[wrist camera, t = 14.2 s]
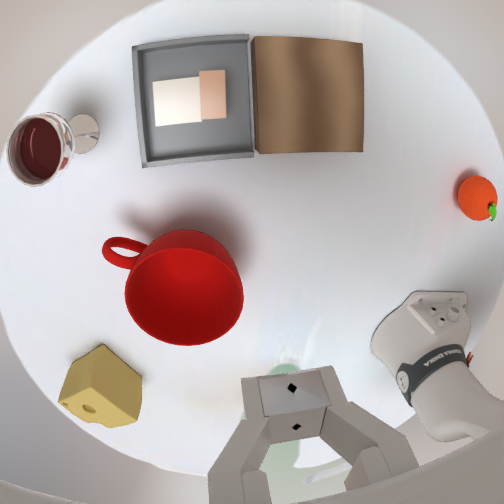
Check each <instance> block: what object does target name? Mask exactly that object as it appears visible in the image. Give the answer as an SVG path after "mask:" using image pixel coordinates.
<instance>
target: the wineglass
mask: <svg viewBox="0 0 504 504" xmlns="http://www.w3.org/2000/svg"><path fill="white" fill-rule="evenodd" d="M98 138H99V127H98V124H97V122H96V121H95V120H94V118H92V117H91V116H89V115H85V114H81V115H77V116H75V117H73V118H72V119H71V120H70V121H69V122H67V121H66V120H65V119H64V118H62V117H61V116H59V115H58V114H55V113H49V112H45V113H40V114H36V115H32V116H27V117H25V118H24V119H22V120H21V121H19V122H18V123H17V124H16V126H15V127H14V128H13V129H12V131H11V134H10V136H9V138H8V143H7V150H6V152H7V161H8V164H9V167H10V170H11V172H12V173H13V175H14V176H15V177H16V179H17V180H19V181H20V182H22V183H23V184H24V185H28V186H31V187H36V186H42V185H44V184H46V183H48V182H50V181H52V180H53V179H55V178H57V177H59V176H60V175H61V174H62V173H63V172H64V171H65V170H66V169H67V168H68V167H69V165H70V163H71V161H72V159H73V156H74V152H75V153H79V154H81V153H86V152H88V151H90V150H91V149H93V148H94V147H95V145H96V143H97V142H98Z"/></svg>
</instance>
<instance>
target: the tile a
mask: <svg viewBox="0 0 504 504" xmlns="http://www.w3.org/2000/svg"><path fill="white" fill-rule="evenodd" d="M153 97H154V111H155V124H156V126H164V125H173V124H182V123H192V122H202V121H203V120H201V109H200V84H199V77H190V78H181V79H172V80H164V81H156V82H153Z"/></svg>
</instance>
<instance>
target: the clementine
mask: <svg viewBox="0 0 504 504" xmlns="http://www.w3.org/2000/svg"><path fill="white" fill-rule="evenodd" d="M458 203H459V206H460V208H461V210H462V212H463V213H464V214H465V215H466V216H467V217H469V218H470V219H473V220H477V221H481V220H485V219H487V218H489V217H490V216H491V217H492V219H491V221H493V220H494V219H495V217H496V206H497V193H496V190H495V188H494V186H493V185H492V183H491V182H490V181H489V180H487V179H486V178H484V177H481V176H471V177H469V178H467V179H466V180H464V181H463V182H462V184H461V185H460V187H459V190H458Z"/></svg>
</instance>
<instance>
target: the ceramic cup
mask: <svg viewBox="0 0 504 504" xmlns="http://www.w3.org/2000/svg"><path fill="white" fill-rule="evenodd" d="M111 247H120V248H125V249H129V250H132V251H135V252H138V253H140V254H139V255H137V256H135V257H126V256H122V255H119V254H117V253H116V252H114V251H113V250H112V249H111ZM102 254H103V256H104V258H105V259H106V260H107V261H109V262H110V263H112V264H113V265H116V266H118V267H121V268H125V269H129V270H131V271H130V273H129V276H128V279H127V281H126V286H125V302H126V305H127V308H128V311H129V313H130V315H131V317H132V318H133V320H134V321H135V322H136V323H137V325H138V326H139V327H140V328H141V329H142V330H144V331H145V332H146V333H147V334H149V335H150V336H152V337H154V338H156V339H158V340H160V341H163V342H166V343H169V344H174V345H182V346H192V345H201V344H204V343H208V342H211V341H213V340H215V339H218V338H219V337H221V336H222V335H224V334H225V333H227V332H228V331H229V330H230V329H231V328H232V327H233V326H234V325H235V323H236V322H237V320H238V319H239V317H240V314H241V311H242V308H243V301H244V295H243V287H242V282H241V279H240V276H239V273H238V271H237V268H236V265H235V263H234V261H233V259H232V258H231V256H230V255H229V253H228V251H227V250H226V249H225V248H224V247H223V246H222V245H221V244H220V243H219V242H218V241H216V240H215V239H214V238H212V237H211V236H209V235H206V234H204V233H202V232H197V231H193V230H178V231H173V232H170V233H167V234H164V235H162V236H161V237H159V238H157V239H156V240H154V241H153V242H152V243H151V244H150V245H146V244H144V243H141V242H138V241H135V240H132V239H129V238H124V237H112V238H109V239H107V240H106V241H105V243H104V245H103V247H102Z"/></svg>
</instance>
